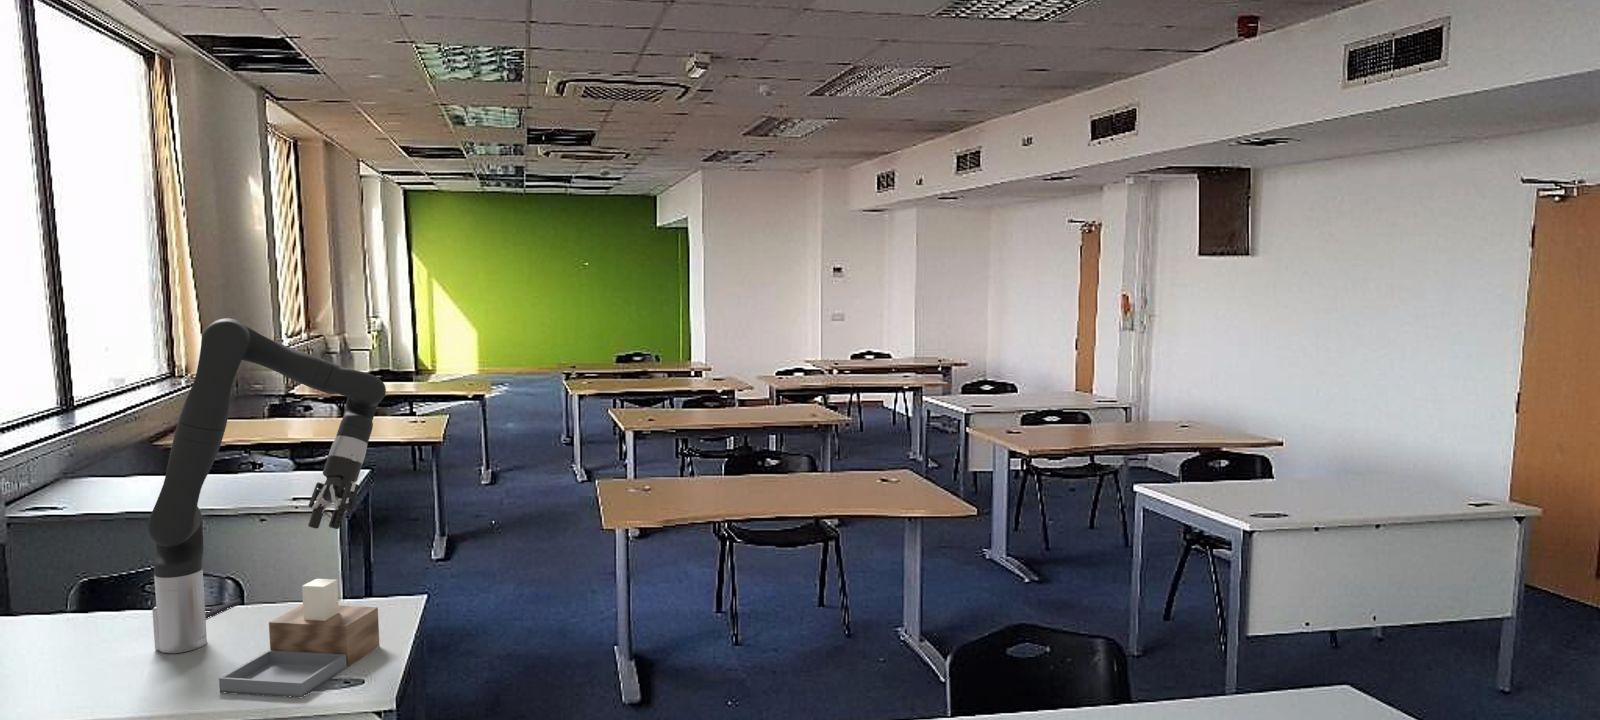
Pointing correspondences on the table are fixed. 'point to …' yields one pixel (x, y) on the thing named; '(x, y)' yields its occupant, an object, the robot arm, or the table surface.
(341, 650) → the walnut platform
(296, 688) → the box
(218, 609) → the bracket
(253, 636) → the table surface
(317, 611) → the cream block
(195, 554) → the robot arm
